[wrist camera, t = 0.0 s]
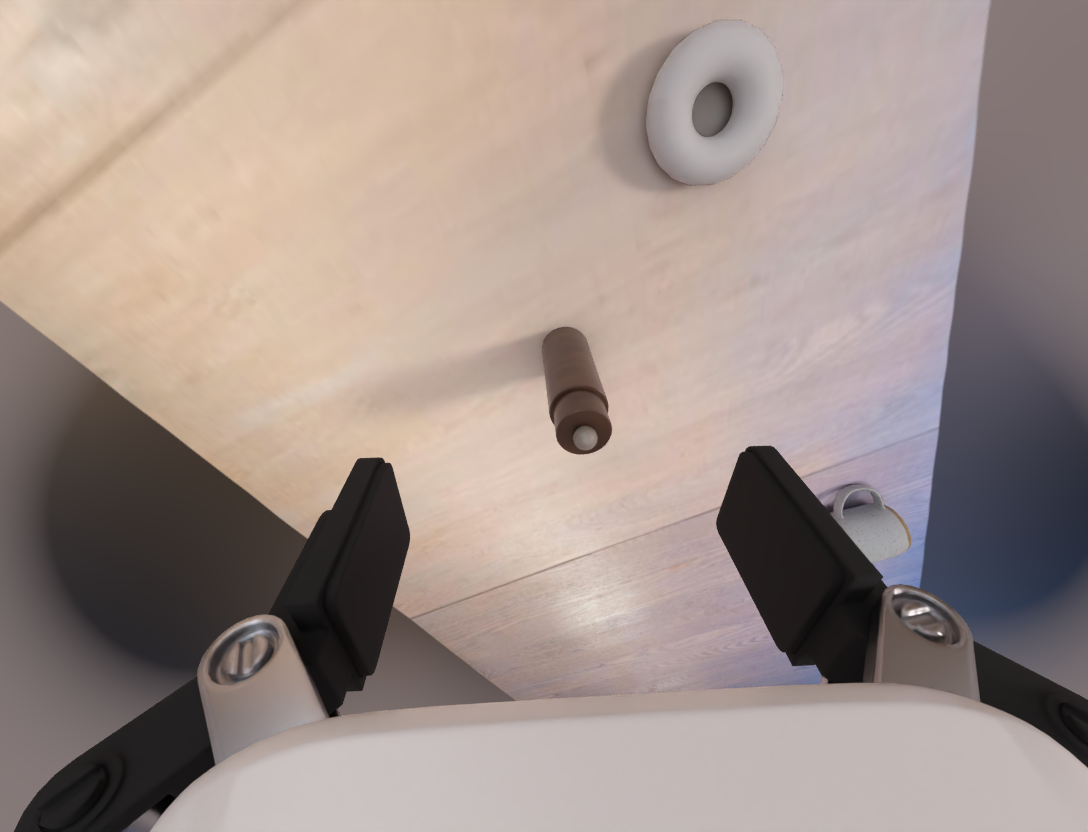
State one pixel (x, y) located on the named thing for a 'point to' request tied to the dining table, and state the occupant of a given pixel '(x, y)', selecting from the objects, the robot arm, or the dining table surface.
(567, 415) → the pepper mill
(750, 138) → the donut
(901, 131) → the dining table surface
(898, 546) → the ceramic mug
